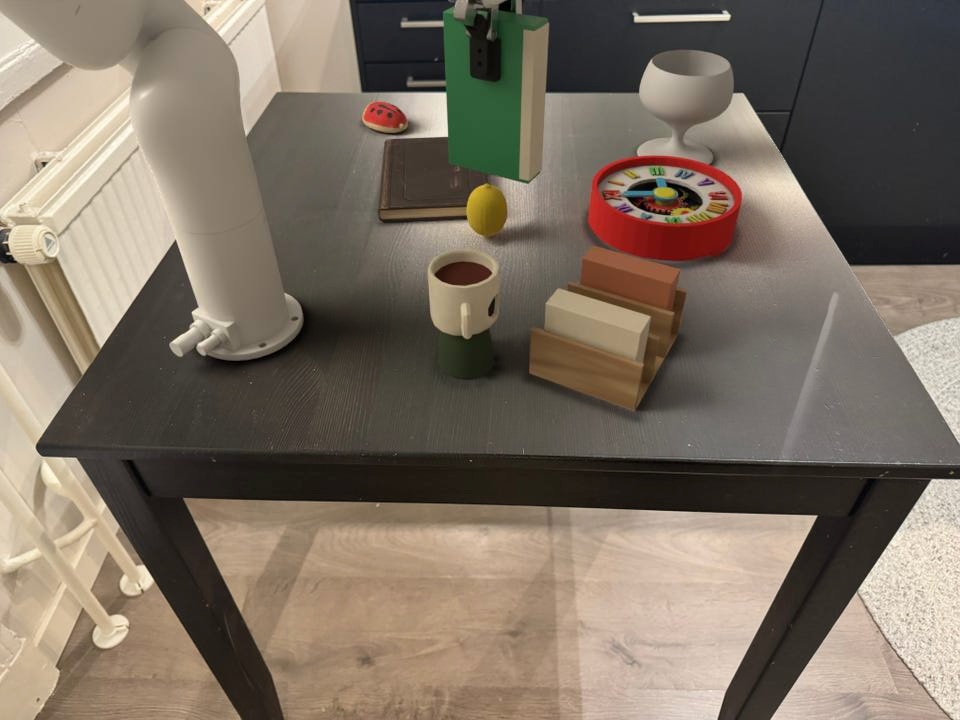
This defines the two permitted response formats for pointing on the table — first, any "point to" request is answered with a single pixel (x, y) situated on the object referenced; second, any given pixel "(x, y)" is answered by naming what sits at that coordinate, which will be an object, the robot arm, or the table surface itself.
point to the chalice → (685, 98)
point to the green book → (498, 99)
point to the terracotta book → (630, 277)
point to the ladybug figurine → (384, 117)
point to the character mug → (464, 310)
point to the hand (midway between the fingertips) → (494, 71)
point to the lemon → (486, 210)
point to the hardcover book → (424, 181)
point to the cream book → (597, 324)
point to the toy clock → (664, 207)
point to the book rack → (607, 353)
